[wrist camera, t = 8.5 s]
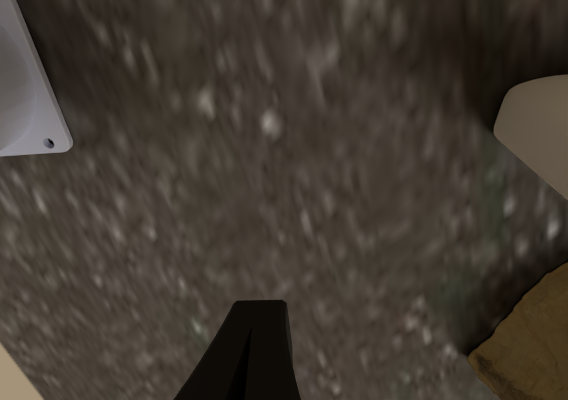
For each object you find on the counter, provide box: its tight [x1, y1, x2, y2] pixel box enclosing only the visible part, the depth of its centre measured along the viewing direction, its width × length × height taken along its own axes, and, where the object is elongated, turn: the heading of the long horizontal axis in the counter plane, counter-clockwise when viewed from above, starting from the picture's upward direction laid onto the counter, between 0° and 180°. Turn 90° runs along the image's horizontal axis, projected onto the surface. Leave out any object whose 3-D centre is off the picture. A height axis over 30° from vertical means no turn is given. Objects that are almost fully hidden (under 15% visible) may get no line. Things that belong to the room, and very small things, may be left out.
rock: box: [467, 262, 568, 400], centre depth 19 cm, size 11×9×10 cm
